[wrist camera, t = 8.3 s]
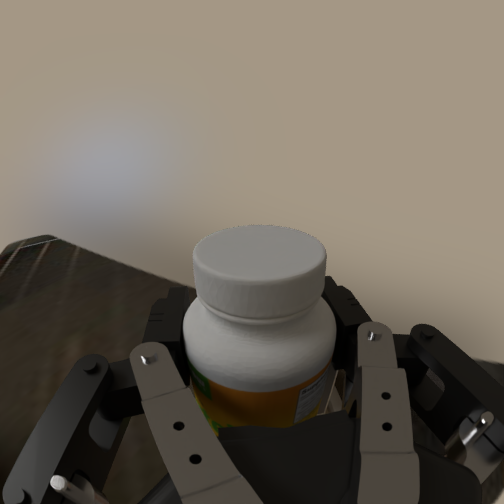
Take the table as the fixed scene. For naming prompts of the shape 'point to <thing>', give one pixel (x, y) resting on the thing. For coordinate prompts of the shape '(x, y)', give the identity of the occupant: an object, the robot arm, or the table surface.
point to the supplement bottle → (259, 327)
